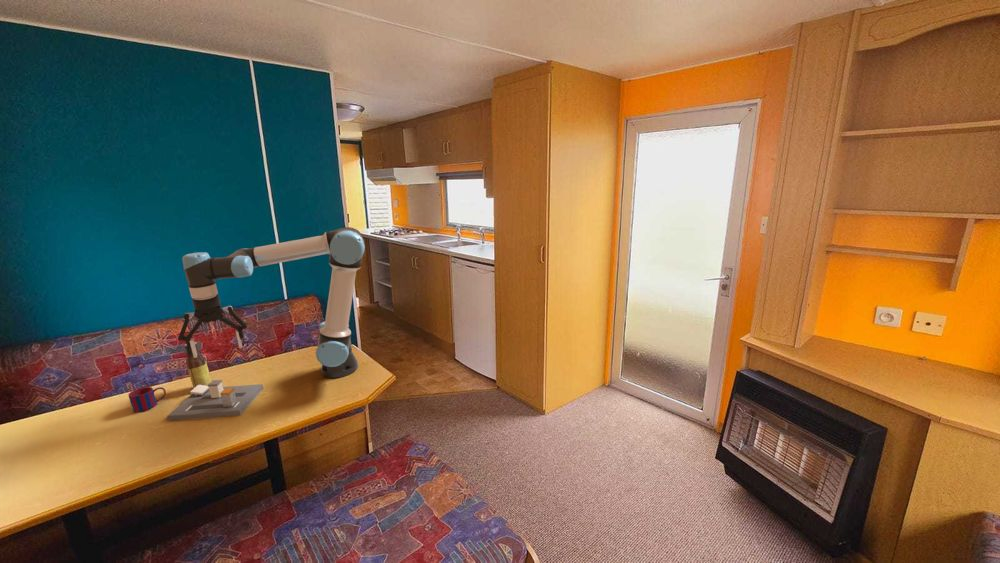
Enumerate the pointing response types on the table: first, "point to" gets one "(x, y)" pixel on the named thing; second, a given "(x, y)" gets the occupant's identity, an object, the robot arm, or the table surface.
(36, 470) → the table surface
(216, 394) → the slider cream
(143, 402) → the mug
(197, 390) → the block
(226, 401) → the block
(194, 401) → the panel
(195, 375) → the sauce bottle
